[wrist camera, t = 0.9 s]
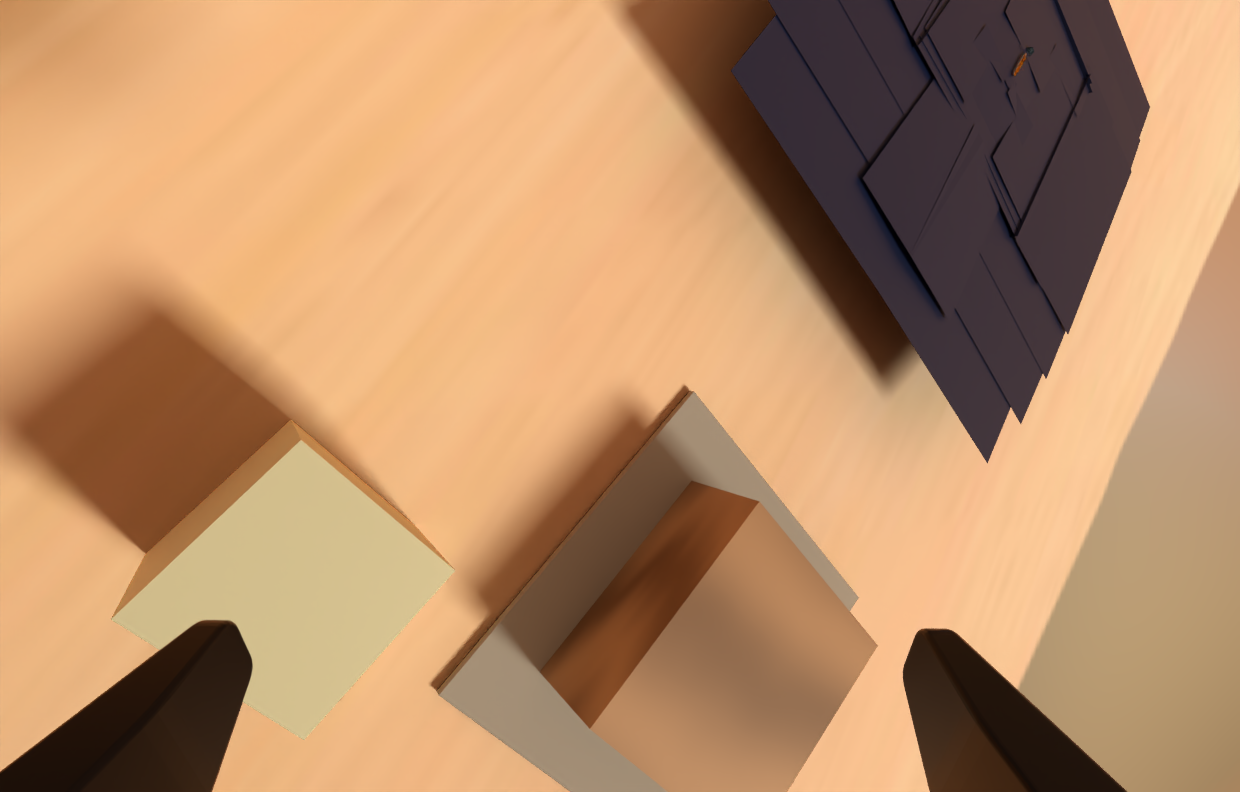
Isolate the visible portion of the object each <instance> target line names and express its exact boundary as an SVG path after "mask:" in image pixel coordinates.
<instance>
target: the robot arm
mask: <svg viewBox="0 0 1240 792" xmlns="http://www.w3.org/2000/svg"><path fill="white" fill-rule="evenodd" d="M252 669H253V663H252V657H251V655H250V653H249V650H248V648H247V646H246V644H245V642H244V640H243V637H242V635H241V633H240V631H239V629H238V627H237V625H236V624H235V623H234V622H232V621H230V620H202V621H199V622H197V623H195V624H194V625H192V626H191V627H189V628H188V629H187V630H185V631H184V632H183V633H181V634H180V635H179V636H178V637H176V638H175V639H174V640H172V641H171V642H170V643H168V644H167V645H166V646H164V647H163V648H162V649H160V650H159V651H158V652H157V653H155V654H154V655H153V656H151V657H150V658H149V659H147V660H146V661H145V662H143V663H142V664H141V665H139V666H138V667H137V668H136V669H134V670H133V671H132V672H130V673H129V674H128V675H126V676H125V677H124V678H122V679H121V680H120V681H118V682H117V683H116V684H115V685H113V686H112V687H111V688H109V689H108V690H107V691H105V692H104V693H103V694H101V695H100V696H99V697H97V698H96V699H95V700H94V701H92V702H91V703H90V704H88V705H87V706H86V707H84V708H83V709H82V710H80V711H79V712H78V713H77V714H75V715H74V716H73V717H71V718H70V719H69V720H67V721H66V722H65V723H63V724H62V725H61V726H59V727H58V728H57V729H56V730H54V731H53V732H52V733H50V734H49V735H48V736H46V737H45V738H44V739H42V740H41V741H40V742H38V743H37V744H36V745H35V746H33V747H32V748H31V749H29V750H28V751H27V752H25V753H24V754H23V755H21V756H20V757H19V758H17V759H16V760H15V761H14V762H12V763H11V764H10V765H8V766H7V767H6V768H4V769H3V770H2V771H0V792H212V790H213V787H214V784H215V782H216V779H217V776H218V773H219V770H220V767H221V764H222V761H223V759H224V756H225V753H226V750H227V747H228V744H229V741H230V738H231V735H232V732H233V729H234V726H235V723H236V720H237V717H238V714H239V711H240V708H241V705H242V702H243V700H244V697H245V694H246V691H247V688H248V685H249V682H250V679H251V675H252ZM903 682H904V687H905V691H906V696H907V700H908V704H909V708H910V712H911V716H912V720H913V725H914V729H915V733H916V737H917V741H918V745H919V749H920V754H921V758H922V762H923V766H924V770H925V774H926V778H927V782H928V787H929V790H930V792H1127V791H1126V790H1125V789H1124V788H1122V786H1121V785H1119V784H1118V783H1117V782H1116V781H1115V780H1114V779H1113V778H1112V777H1111V776H1110V775H1109V774H1108V773H1107V772H1105V771H1104V770H1103V769H1102V768H1101V767H1100V766H1099V765H1098V764H1097V763H1096V762H1095V761H1094V760H1093V759H1091V758H1090V757H1089V756H1088V755H1087V754H1086V753H1085V752H1084V751H1083V750H1082V749H1081V748H1080V747H1079V746H1078V745H1076V744H1075V743H1074V742H1073V741H1072V740H1071V739H1070V738H1069V737H1068V736H1067V735H1066V734H1065V733H1063V732H1062V731H1061V730H1060V729H1059V728H1058V727H1057V726H1056V725H1055V724H1054V723H1053V722H1052V721H1051V720H1050V719H1048V718H1047V717H1046V716H1045V715H1044V714H1043V713H1042V712H1041V711H1040V710H1039V709H1038V708H1037V707H1035V705H1033V704H1032V703H1031V702H1030V701H1029V700H1028V699H1027V698H1026V697H1025V696H1024V695H1023V694H1021V693H1020V692H1019V691H1018V690H1017V689H1016V688H1015V687H1014V686H1013V685H1012V684H1011V683H1010V682H1009V681H1008V680H1007V679H1005V678H1004V677H1003V676H1002V675H1001V674H1000V673H999V672H998V671H997V670H996V669H995V668H994V667H993V666H991V665H990V664H989V663H988V662H987V661H986V660H985V659H984V658H983V657H982V656H981V655H980V654H979V653H978V652H976V651H975V650H974V649H973V648H972V647H971V646H970V645H969V644H968V643H967V642H966V641H965V640H964V639H962V638H961V637H960V636H959V635H958V634H957V633H955V632H954V631H952V630H949V629H921V630H919V631H918V632H917V633H916V635H915V638H914V640H913V643H912V646H911V648H910V651H909V654H908V656H907V659H906V662H905V664H904V668H903Z"/></svg>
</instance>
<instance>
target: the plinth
mask: <svg viewBox="0 0 1240 792" xmlns="http://www.w3.org/2000/svg"><path fill="white" fill-rule="evenodd" d="M877 646H878V645H877V644H876V643H875V642H874V640H873V639H872V638H871V637H870V636H869V634H868V633H867V632H866V631H865V629H864V628H863V627H862V626H861V625H860V623H859V622H858V621H857V620H856V618H855V617H854V616H853V615H852V614H851V612H850V611H849V610H848V609H847V607H846V606H845V605H844V604H843V603H842V601H841V600H840V599H839V598H838V597H837V595H836V594H835V593H834V592H833V590H832V589H831V588H830V587H829V586H828V584H827V583H826V582H825V581H824V579H823V578H822V577H821V576H820V575H819V573H818V572H817V571H816V570H815V568H814V567H813V566H812V565H811V564H810V562H809V561H808V560H807V559H806V557H805V556H804V555H803V554H802V553H801V551H800V550H799V549H798V548H797V546H796V545H795V544H794V543H793V542H792V540H791V539H790V538H789V537H788V535H787V534H786V533H785V532H784V531H783V529H782V528H781V527H780V526H779V525H778V523H777V522H776V521H775V520H774V518H773V517H772V516H771V515H770V514H769V512H768V511H767V510H766V509H765V507H764V506H763V505H762V504H761V503H760V501H757V500H753V499H750V498H747V497H743V496H740V495H737V494H734V493H730V492H727V491H724V490H720V489H717V488H714V487H711V486H707V485H704V484H701V483H697V482H694V481H691V482H690V483H689V485H688V486H687V487H686V488H685V490H684V491H683V492H682V493H681V495H680V496H679V497H678V498H677V500H676V501H675V502H674V503H673V505H672V506H671V507H670V508H669V510H668V511H667V512H666V513H665V515H664V516H663V517H662V519H661V520H660V521H659V522H658V524H657V525H656V526H655V527H654V529H653V530H652V531H651V532H650V534H649V535H648V536H647V537H646V539H645V540H644V541H643V542H642V544H641V545H640V546H639V547H638V549H637V550H636V551H635V552H634V554H633V555H632V556H631V557H630V559H629V560H628V561H627V563H626V564H625V565H624V566H623V568H622V569H621V570H620V571H619V573H618V574H617V575H616V576H615V578H614V579H613V580H612V581H611V583H610V584H609V585H608V586H607V588H606V589H605V590H604V591H603V593H602V594H601V595H600V596H599V598H598V599H597V600H596V601H595V603H594V604H593V605H592V606H591V608H590V609H589V610H588V612H587V613H586V614H585V615H584V617H583V618H582V619H581V620H580V622H579V623H578V624H577V625H576V627H575V628H574V629H573V630H572V632H571V633H570V634H569V635H568V637H567V638H566V639H565V640H564V642H563V643H562V644H561V645H560V647H559V648H558V649H557V650H556V652H555V653H554V654H553V656H552V657H551V658H550V659H549V661H548V662H547V663H546V664H545V666H544V667H543V668H542V669H541V671H540V673H541V674H542V675H543V677H544V678H545V679H546V680H547V681H548V682H549V683H550V685H551V686H552V687H553V688H554V689H555V690H556V691H557V692H558V694H559V695H560V696H561V697H562V698H563V699H564V700H565V702H566V703H567V704H568V705H569V706H570V707H571V708H572V709H573V711H574V712H575V713H576V714H577V715H578V716H579V717H580V718H581V720H582V721H583V722H584V723H585V724H586V725H587V726H588V728H589V729H590V730H592V731H593V732H594V733H595V734H597V735H598V736H599V737H600V738H602V739H603V740H604V741H605V742H606V743H608V744H609V745H610V746H611V747H613V748H614V749H615V750H616V751H618V752H619V753H620V754H621V755H623V756H624V757H625V758H626V759H628V760H629V761H630V762H631V763H633V764H634V765H635V766H636V767H638V768H639V769H640V770H641V771H643V772H644V773H645V774H646V775H647V776H649V777H650V778H651V779H652V780H654V781H655V782H656V783H657V784H659V785H660V786H661V787H662V788H664V789H665V790H666V791H667V792H787V791H788V790H789V788H790V786H791V785H792V783H793V781H794V780H795V778H796V777H797V775H798V773H799V772H800V770H801V769H802V767H803V765H804V764H805V762H806V761H807V759H808V757H809V756H810V754H811V752H812V751H813V749H814V748H815V746H816V744H817V743H818V741H819V740H820V738H821V736H822V735H823V733H824V731H825V730H826V728H827V727H828V725H829V723H830V722H831V720H832V719H833V717H834V715H835V714H836V712H837V711H838V709H839V707H840V706H841V704H842V702H843V701H844V699H845V698H846V696H847V694H848V693H849V691H850V690H851V688H852V686H853V685H854V683H855V681H856V680H857V678H858V677H859V675H860V673H861V672H862V670H863V669H864V667H865V665H866V664H867V662H868V661H869V659H870V657H871V656H872V654H873V652H874V651H875V649H876V648H877Z"/></svg>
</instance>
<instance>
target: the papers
mask: <svg viewBox="0 0 1240 792" xmlns="http://www.w3.org/2000/svg"><path fill="white" fill-rule="evenodd" d="M768 1H769V3H770V4H771V6H772V8H773V9H774V11H775V13H776V16H775V17H774V18H773V19H772V20H771V22H770V23H769V24H768V25H767V27H766V28H765V29H764V30H763V32H762V33H761V34H760V35H759V36H758V38H757V39H756V40H755V41H754V43H753V44H752V45H751V46H750V48H749V49H748V50H747V51H746V53H745V54H744V55H743V56H742V57H741V59H740V60H739V61H738V62H737V64H736V65H735V66H734V67H733V69H732V70H731V72H732V73H733V75H734V76H735V78H736V79H737V81H738V82H739V84H740V85H741V87H742V88H743V90H744V91H745V93H746V94H747V96H748V97H749V99H750V100H751V102H752V103H753V105H754V106H755V108H756V109H757V111H758V112H759V114H760V115H761V117H762V118H763V120H764V121H765V123H766V124H767V126H768V127H769V129H770V130H771V132H772V133H773V135H774V136H775V138H776V139H777V141H778V142H779V144H780V145H781V147H782V148H783V150H784V151H785V153H786V154H787V156H788V157H789V158H790V160H791V161H792V163H793V164H794V166H795V167H796V169H797V170H798V172H799V173H800V175H801V176H802V178H803V179H804V181H805V182H806V184H807V185H808V187H809V188H810V190H811V191H812V193H813V194H814V196H815V197H816V199H817V200H818V202H819V203H820V205H821V206H822V208H823V209H824V211H825V212H826V214H827V215H828V217H829V218H830V220H831V221H832V223H833V224H834V226H835V227H836V229H837V230H838V232H839V233H840V235H841V236H842V238H843V239H844V241H845V242H846V244H847V245H848V247H849V248H850V250H851V251H852V253H853V254H854V256H855V257H856V259H857V260H858V262H859V263H860V265H861V266H862V268H863V269H864V271H865V272H866V274H867V275H868V277H869V278H870V280H871V281H872V283H873V284H874V286H875V287H876V289H877V290H878V292H879V293H880V295H881V296H882V298H883V299H884V301H885V302H886V304H887V306H888V307H889V309H890V310H891V312H892V313H893V315H894V317H895V318H896V320H897V321H898V323H899V325H900V326H901V328H902V329H903V331H904V332H905V334H906V336H907V337H908V339H909V340H910V342H911V343H912V345H913V347H914V348H915V350H916V351H917V353H918V355H919V356H920V358H921V359H922V361H923V362H924V364H925V366H926V367H927V369H928V370H929V372H930V373H931V375H932V377H933V378H934V380H935V381H936V383H937V385H938V386H939V388H940V389H941V391H942V392H943V394H944V396H945V397H946V399H947V400H948V402H949V403H950V405H951V407H952V408H953V410H954V411H955V413H956V414H957V416H958V418H959V419H960V421H961V422H962V424H963V426H964V427H965V429H966V430H967V432H968V433H969V435H970V437H971V438H972V440H973V441H974V443H975V444H976V446H977V448H978V449H979V451H980V452H981V454H982V456H983V457H984V459H985V460H986V462H987V463H988V461H989V458H990V456H991V453H992V451H993V449H994V446H995V444H996V441H997V439H998V436H999V434H1000V432H1001V429H1002V427H1003V424H1004V422H1005V419H1006V417H1007V415H1008V412H1009V410H1010V407H1011V408H1012V410H1013V411H1014V413H1015V415H1016V417H1017V418H1018V420H1019V422H1020V424H1021V423H1022V420H1023V418H1024V416H1025V413H1026V411H1027V409H1028V406H1029V404H1030V402H1031V399H1032V397H1033V395H1034V392H1035V390H1036V388H1037V385H1038V383H1039V381H1040V378H1041V376H1042V374H1044V376H1045V378H1047V376H1048V373H1049V371H1050V368H1051V366H1052V363H1053V361H1054V358H1055V356H1056V353H1057V351H1058V349H1059V346H1060V344H1061V341H1062V339H1063V336H1064V334H1065V331H1066V332H1067V334H1068V333H1069V331H1070V328H1071V326H1072V323H1073V320H1074V318H1075V315H1076V313H1077V310H1078V308H1079V305H1080V302H1081V300H1082V297H1083V295H1084V292H1085V290H1086V287H1087V284H1088V282H1089V279H1090V277H1091V274H1092V272H1093V269H1094V266H1095V264H1096V261H1097V259H1098V256H1099V254H1100V251H1101V248H1102V246H1103V243H1104V241H1105V238H1106V236H1107V233H1108V230H1109V228H1110V225H1111V223H1112V220H1113V218H1114V215H1115V212H1116V210H1117V207H1118V205H1119V202H1120V200H1121V197H1122V194H1123V192H1124V189H1125V187H1126V184H1127V182H1128V179H1129V176H1130V174H1131V166H1132V163H1133V160H1134V157H1135V154H1136V151H1137V148H1138V145H1139V142H1140V139H1139V137H1140V134H1141V131H1142V128H1143V126H1144V123H1145V120H1146V117H1147V114H1148V111H1149V108H1150V106H1149V103H1148V101H1147V98H1146V96H1145V93H1144V90H1143V88H1142V85H1141V83H1140V80H1139V77H1138V75H1137V72H1136V70H1135V67H1134V65H1133V62H1132V59H1131V57H1130V54H1129V52H1128V49H1127V46H1126V44H1125V41H1124V39H1123V36H1122V34H1121V31H1120V28H1119V26H1118V23H1117V21H1116V18H1115V15H1114V13H1113V10H1112V8H1111V5H1110V3H1109V0H768Z"/></svg>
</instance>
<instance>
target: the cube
mask: <svg viewBox="0 0 1240 792" xmlns="http://www.w3.org/2000/svg"><path fill="white" fill-rule="evenodd" d="M454 572H455V570H454V569H453V567H452V566H451V565H450V564H449V563H448V562H447V561H446V560H445V559H444V557H443V556H442V555H441V554H440V553H439V552H438V551H437V550H436V548H435V547H434V546H433V545H432V544H431V543H430V542H429V541H428V540H427V538H426V537H425V536H424V535H423V534H422V533H421V532H420V531H419V529H418V528H417V527H416V526H415V525H414V524H413V523H411V522H410V521H409V520H408V519H407V518H406V517H404V516H403V515H402V514H401V513H400V512H399V511H397V510H396V509H395V508H394V507H393V506H392V505H390V504H389V503H388V502H387V501H386V500H385V499H383V498H382V497H381V496H380V495H379V494H378V493H376V492H375V491H374V490H373V489H372V488H371V487H369V486H368V485H367V484H366V483H365V482H364V481H362V480H361V479H360V478H359V477H358V476H357V475H355V474H354V473H353V472H352V471H351V470H350V469H348V468H347V467H346V466H345V465H344V464H343V463H341V462H340V461H339V460H338V459H337V458H336V457H334V456H333V455H332V454H331V453H330V452H329V451H327V450H326V449H325V448H324V447H323V446H322V445H320V444H319V443H318V442H317V441H316V440H315V439H313V438H312V437H311V436H310V435H309V434H308V433H306V432H305V431H304V430H303V429H302V428H301V427H299V426H298V425H297V424H296V423H295V422H294V421H292V420H290V421H289V422H287V423H286V424H285V425H284V426H283V427H282V428H281V429H280V430H279V431H278V432H277V433H276V434H275V435H273V436H272V437H271V438H270V439H269V440H268V441H267V442H266V443H265V444H264V445H263V446H262V447H260V448H259V449H258V450H257V451H256V452H255V453H254V454H253V455H252V456H251V457H250V458H249V459H248V460H246V461H245V462H244V463H243V464H242V465H241V466H240V467H239V468H238V469H237V470H236V471H235V472H233V473H232V474H231V475H230V476H229V477H228V478H227V479H226V480H225V481H224V482H223V483H222V484H221V485H219V486H218V487H217V488H216V489H215V490H214V491H213V492H212V493H211V494H210V495H209V496H208V497H206V498H205V499H204V500H203V501H202V502H201V503H200V504H199V505H198V506H197V507H196V508H195V509H194V510H192V511H191V512H190V513H189V514H188V515H187V516H186V517H185V518H184V519H183V520H182V521H181V522H179V523H178V524H177V525H176V526H175V527H174V528H173V529H172V530H171V531H170V532H169V533H168V534H167V535H165V536H164V537H163V538H162V539H161V540H160V541H159V542H158V543H157V544H156V545H155V546H154V547H152V548H151V549H150V550H149V551H148V552H147V553H146V554H145V556H144V558H143V560H142V562H141V564H140V566H139V567H138V569H137V571H136V573H135V575H134V577H133V579H132V581H131V582H130V584H129V586H128V588H127V590H126V592H125V594H124V596H123V597H122V599H121V601H120V603H119V605H118V607H117V609H116V611H115V612H114V614H113V616H112V618H111V620H112V621H114V622H116V623H117V624H119V625H120V626H122V627H124V628H125V629H127V630H128V631H130V632H132V633H133V634H135V635H136V636H138V637H140V638H141V639H143V640H144V641H146V642H148V643H149V644H151V645H152V646H154V647H156V648H157V649H159V650H160V649H162V648H163V647H164V646H166V645H167V644H168V643H170V642H171V641H172V640H174V639H175V638H176V637H178V636H179V635H180V634H181V633H183V632H184V631H185V630H187V629H188V628H189V627H191V626H192V625H194V624H195V623H197V622H199V621H202V620H230V621H232V622H234V623H235V624H236V625H237V627H238V629H239V631H240V633H241V635H242V637H243V640H244V642H245V644H246V646H247V648H248V650H249V653H250V655H251V657H252V663H253V669H252V675H251V679H250V682H249V685H248V688H247V691H246V694H245V697H244V700H243V702H244V703H245V704H247V705H248V706H250V707H252V708H253V709H255V710H256V711H258V712H260V713H261V714H263V715H264V716H266V717H268V718H269V719H271V720H272V721H274V722H276V723H277V724H279V725H280V726H282V727H284V728H285V729H287V730H288V731H290V732H292V733H293V734H295V735H296V736H298V737H300V738H301V739H303V740H305V739H306V738H307V736H308V735H309V734H310V733H311V732H312V731H313V730H314V729H315V727H316V726H317V725H318V724H319V723H320V722H321V721H322V720H323V718H324V717H325V716H326V715H327V714H328V713H329V712H330V711H331V709H332V708H333V707H334V706H335V705H336V704H337V703H338V702H339V701H340V699H341V698H342V697H343V696H344V695H345V694H346V693H347V692H348V690H349V689H350V688H351V687H352V686H353V685H354V684H355V683H356V681H357V680H358V679H359V678H360V677H361V676H362V675H363V674H364V673H365V671H366V670H367V669H368V668H369V667H370V666H371V665H372V664H373V662H374V661H375V660H376V659H377V658H378V657H379V656H380V655H381V653H382V652H383V651H384V650H385V649H386V648H387V647H388V646H389V644H390V643H391V642H392V641H393V640H394V639H395V638H396V637H397V636H398V634H399V633H400V632H401V631H402V630H403V629H404V628H405V627H406V625H407V624H408V623H409V622H410V621H411V620H412V619H413V618H414V616H415V615H416V614H417V613H418V612H419V611H420V610H421V609H422V607H423V606H424V605H425V604H426V603H427V602H428V601H429V600H430V599H431V597H432V596H433V595H434V594H435V593H436V592H437V591H438V590H439V588H440V587H441V586H442V585H443V584H444V583H445V582H446V581H447V579H448V578H449V577H450V576H451V575H452V574H453V573H454Z"/></svg>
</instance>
